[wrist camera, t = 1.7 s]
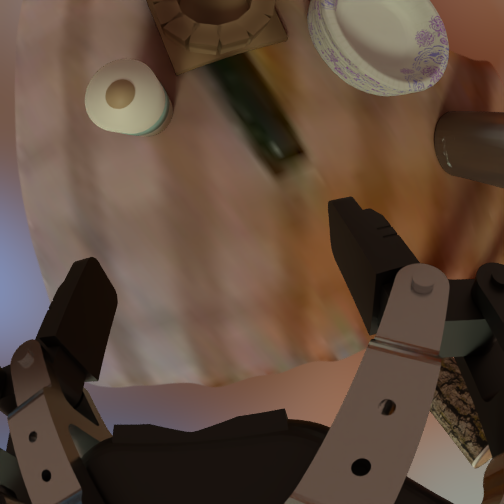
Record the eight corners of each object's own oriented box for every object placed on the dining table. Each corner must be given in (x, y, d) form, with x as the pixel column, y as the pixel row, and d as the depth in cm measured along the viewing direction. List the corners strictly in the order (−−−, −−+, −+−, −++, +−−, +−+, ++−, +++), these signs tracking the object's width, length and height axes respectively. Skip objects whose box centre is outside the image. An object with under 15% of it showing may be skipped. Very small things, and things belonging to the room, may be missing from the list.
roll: (163, 80, 27) (143, 45, 16) (180, 124, 29) (170, 110, 17) (117, 102, 27) (74, 80, 15) (134, 145, 29) (98, 146, 17)
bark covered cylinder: (380, 323, 41) (488, 445, 18) (416, 311, 42) (527, 413, 19) (376, 358, 44) (465, 477, 20) (411, 345, 44) (504, 448, 21)
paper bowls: (305, -28, 24) (330, -60, 17) (411, 16, 27) (449, 1, 20) (287, 78, 29) (314, 60, 21) (404, 115, 32) (447, 114, 25)
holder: (246, -39, 23) (252, -57, 19) (285, 41, 27) (296, 29, 23) (142, -9, 22) (136, -26, 19) (176, 75, 27) (173, 66, 23)
